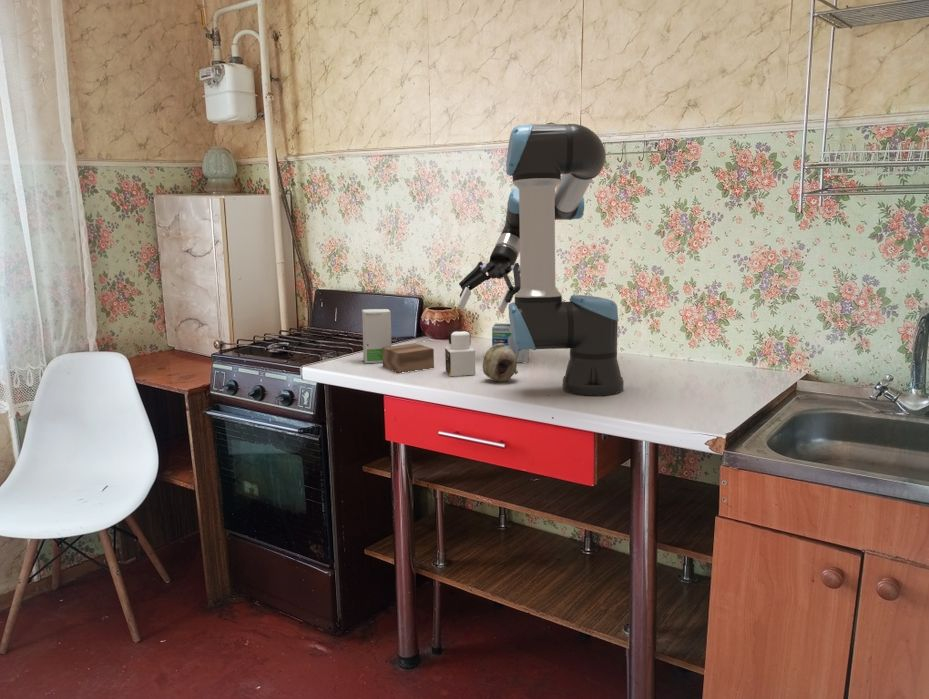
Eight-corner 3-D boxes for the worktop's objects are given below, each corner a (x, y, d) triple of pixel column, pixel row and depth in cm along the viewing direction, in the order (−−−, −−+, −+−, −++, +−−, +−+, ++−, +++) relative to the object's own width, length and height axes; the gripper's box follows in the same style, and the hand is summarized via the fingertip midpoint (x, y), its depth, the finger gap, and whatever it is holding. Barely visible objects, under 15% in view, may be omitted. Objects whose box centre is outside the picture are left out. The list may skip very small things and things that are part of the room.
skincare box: (365, 364, 223) (362, 312, 220) (363, 359, 229) (360, 309, 226) (393, 362, 225) (391, 310, 222) (390, 357, 231) (388, 307, 228)
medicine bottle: (445, 371, 211) (444, 329, 209) (470, 369, 213) (469, 328, 210) (450, 377, 205) (449, 333, 202) (475, 375, 206) (474, 332, 204)
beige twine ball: (476, 380, 200) (476, 344, 198) (498, 375, 206) (497, 339, 204) (503, 386, 193) (502, 348, 191) (524, 380, 199) (524, 343, 197)
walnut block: (434, 369, 215) (433, 348, 214) (399, 374, 210) (399, 353, 209) (416, 362, 225) (415, 343, 224) (382, 367, 219) (382, 347, 218)
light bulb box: (491, 362, 222) (491, 326, 219) (494, 358, 228) (494, 323, 226) (527, 363, 220) (527, 327, 218) (529, 358, 226) (529, 323, 224)
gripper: (547, 261, 219) (522, 319, 210) (475, 259, 233) (449, 313, 224) (539, 244, 214) (513, 303, 205) (465, 243, 227) (438, 298, 218)
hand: (479, 309), depth 214 cm, fingers open, 13 cm apart
